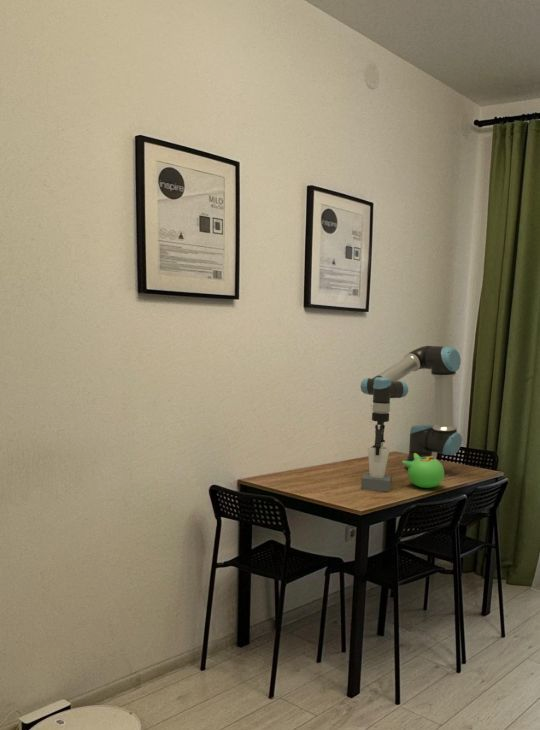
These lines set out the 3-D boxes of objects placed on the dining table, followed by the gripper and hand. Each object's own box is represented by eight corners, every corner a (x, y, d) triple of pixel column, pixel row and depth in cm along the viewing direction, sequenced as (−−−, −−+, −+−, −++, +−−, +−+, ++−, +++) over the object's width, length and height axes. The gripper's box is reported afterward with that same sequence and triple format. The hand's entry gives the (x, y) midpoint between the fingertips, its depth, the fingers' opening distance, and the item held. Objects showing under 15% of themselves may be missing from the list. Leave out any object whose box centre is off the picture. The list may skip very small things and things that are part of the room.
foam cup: (383, 474, 284) (385, 446, 283) (390, 479, 275) (392, 449, 274) (363, 473, 283) (365, 445, 282) (369, 478, 273) (371, 449, 273)
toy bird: (436, 494, 273) (438, 460, 272) (399, 487, 281) (401, 455, 281) (447, 486, 288) (449, 455, 288) (412, 480, 297) (414, 450, 296)
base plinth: (364, 483, 286) (364, 472, 286) (390, 486, 283) (391, 475, 283) (361, 489, 275) (361, 477, 274) (388, 492, 272) (389, 480, 271)
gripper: (374, 408, 290) (372, 453, 291) (369, 415, 266) (367, 464, 267) (391, 409, 288) (388, 455, 290) (387, 416, 264) (384, 465, 265)
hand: (378, 459), depth 278 cm, fingers open, 13 cm apart
